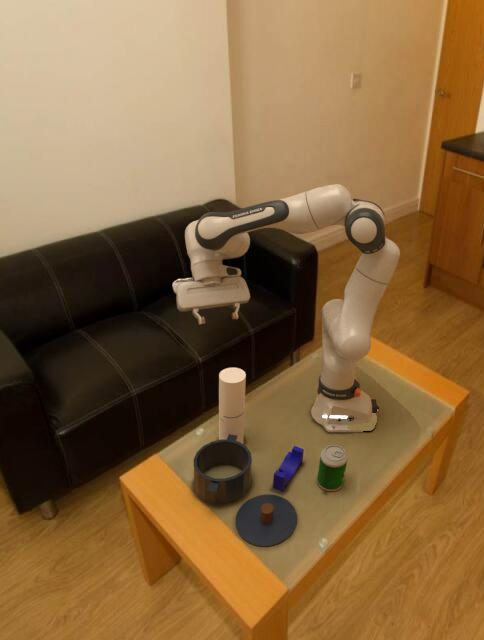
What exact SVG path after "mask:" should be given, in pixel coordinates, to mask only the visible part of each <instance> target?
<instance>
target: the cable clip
mask: <svg viewBox="0 0 484 640" xmlns="http://www.w3.org/2000/svg"><path fill="white" fill-rule="evenodd" d="M304 451H305V450H304V448H301V447H299V446H296V445H294V446H293V447H292V449H291V451H288V452H287V454H286V455H285V457H284V458H283V460H282V462H281V465H280V467H279V468H278V470H277V469H276V470H275V472H274V473H273V479H272V480H273V481H272V489H274V490H277V491H279V492H281V493H283V492H284V491H285V490H284V489H285V488H287V486H288V485H289V484H290V482H291V481H292V480H293V477H294V476H295V474H296V473H297V472H298V470H299V469H300V466H302V464H303V461H304V460H303V459H304Z"/></svg>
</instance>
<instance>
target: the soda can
mask: <svg viewBox="0 0 484 640" xmlns="http://www.w3.org/2000/svg"><path fill="white" fill-rule="evenodd" d="M348 457H349V455H348V452H347V450H345V449H344V447H342V446H340V445H338V444H330V445H328V446H325V447H324V448H323V449H321V452H320V458H319V465H318V471H317V479H316V482H317V485H318V486H319V487H320V488H321V489H322V490H324V491H326V492H336V491H338V490H340V489H341V488H342V487H343V485H344V481H345V476H346V470H347V465H348V460H349V458H348Z"/></svg>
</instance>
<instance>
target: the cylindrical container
mask: <svg viewBox="0 0 484 640" xmlns="http://www.w3.org/2000/svg"><path fill="white" fill-rule="evenodd" d="M246 381H247V373H246V371H244V370H243V369H241V368H239V367H227V368H224V369H222V370H221V371H220V372H219V373H218V440H221V439H224V440H227V438H228V435H229V434H230V435H237V440H236V441H238V442H240V443H242V444H243V445H244V439H245V438H244V435H245V411H246V410H245V409H246V408H245V407H246V383H247V382H246Z"/></svg>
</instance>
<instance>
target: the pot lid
mask: <svg viewBox="0 0 484 640" xmlns="http://www.w3.org/2000/svg"><path fill="white" fill-rule="evenodd" d="M297 523H298V515H297V511H296V508H295V506H294V505H293V504H292V503H291V502H290V501H289V500H288V499H286V498H285V497H282V496H280V495H277V494H269V493H267V494H260V495H257V496H253V497H251V498H249V499H248V500H246V501H245V502H244V503H243V504H242V505H241V506H240V508H239V509H238V510H237V513H236V515H235V528H236V531H237V533H238V535H239V536H240V538H241V539H242V540H244V541H245V542H246V543H248V544H250V545H252V546H256V547H261V548H267V547H274V546H277V545H280V544H282V543H284V542H285V541H286V540H287V539H289V538H290V537H291V536H292V535H293V533H294V532H295V530H296V527H297Z"/></svg>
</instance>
